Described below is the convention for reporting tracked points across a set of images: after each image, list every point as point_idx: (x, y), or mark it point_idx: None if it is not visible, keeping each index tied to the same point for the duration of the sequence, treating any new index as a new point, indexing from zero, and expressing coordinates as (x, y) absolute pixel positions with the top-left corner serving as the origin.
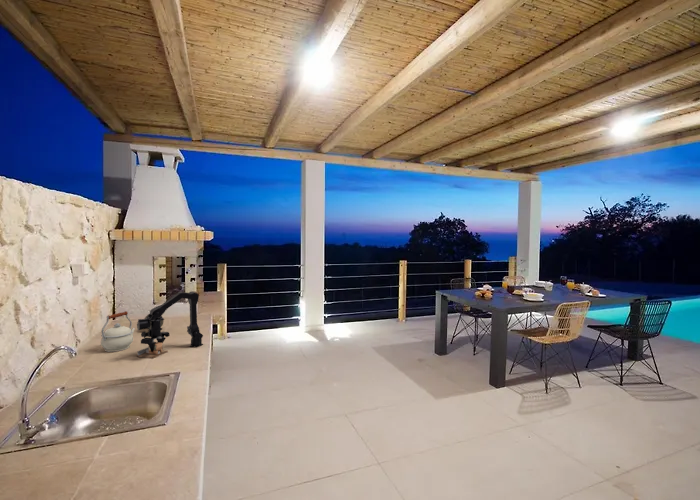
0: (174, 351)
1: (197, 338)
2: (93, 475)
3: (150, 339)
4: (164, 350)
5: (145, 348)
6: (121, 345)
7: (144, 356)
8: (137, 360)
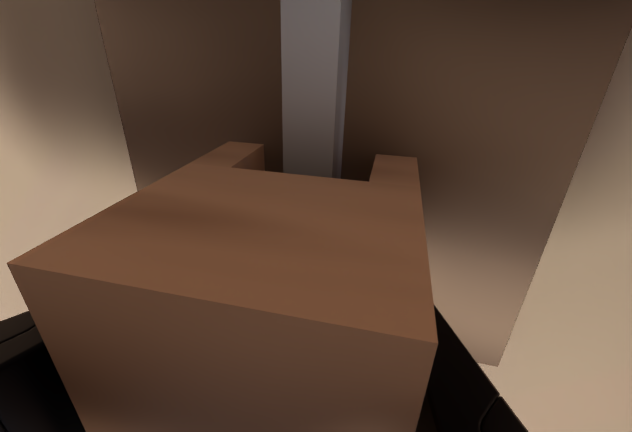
0: (526, 418)
1: None
2: None
3: None
4: (503, 315)
5: None
6: None
7: (132, 137)
8: (23, 114)
